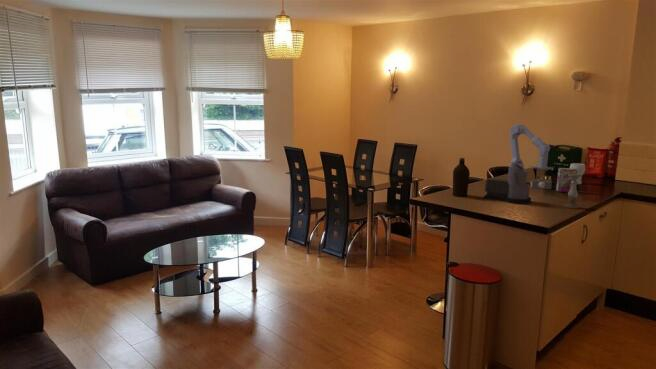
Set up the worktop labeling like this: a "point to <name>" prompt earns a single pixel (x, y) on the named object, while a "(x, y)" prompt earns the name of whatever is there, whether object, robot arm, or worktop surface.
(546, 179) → the spacer
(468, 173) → the olive oil
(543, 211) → the worktop surface
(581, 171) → the cup
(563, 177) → the candy bar box
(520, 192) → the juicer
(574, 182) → the candle holder
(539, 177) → the spacer
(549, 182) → the scale
